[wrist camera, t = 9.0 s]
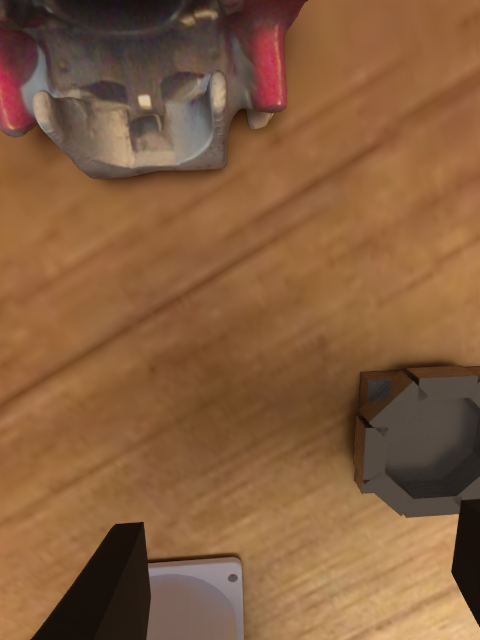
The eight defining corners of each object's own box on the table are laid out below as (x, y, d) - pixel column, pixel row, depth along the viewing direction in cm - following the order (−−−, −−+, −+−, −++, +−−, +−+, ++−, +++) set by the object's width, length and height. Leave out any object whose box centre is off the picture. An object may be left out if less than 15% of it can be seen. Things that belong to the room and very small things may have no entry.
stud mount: (474, 480, 21) (504, 510, 18) (344, 489, 20) (360, 521, 18) (492, 356, 19) (527, 373, 17) (351, 362, 18) (368, 381, 16)
